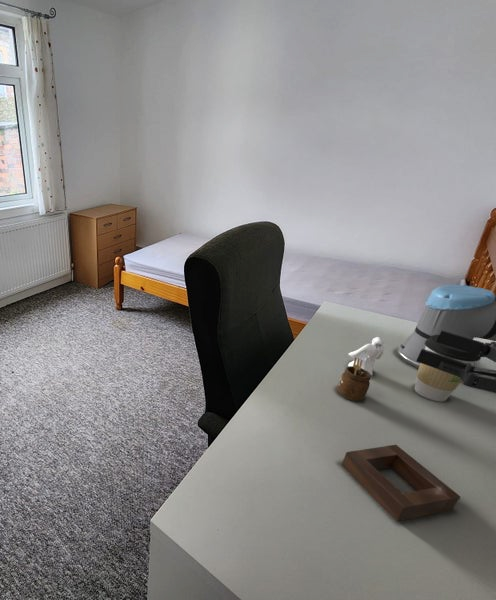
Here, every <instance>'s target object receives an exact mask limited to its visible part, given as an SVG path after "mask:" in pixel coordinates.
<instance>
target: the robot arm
mask: <svg viewBox="0 0 496 600" xmlns="http://www.w3.org/2000/svg"><path fill="white" fill-rule="evenodd" d="M424 303H425V305H424V307H423V311H422V312H421V315H420V316H419V319H418V321H417V324H416V326H415V329H414V331H413V332H412V333H411V334H410V335H409V336H408V337H406V339H405V340H404V341H402V343H400V344H399V346H398V348H397V350H396V355H397V357H398V358H399V359H401V360H402V361H403V362H405V363H407V365H410V366H412V367H414V368H416V369H417V370H419V366H420V363H422V364H425V365H428V366H431V367H433V368H436V369H439V370H441V371H444V372H447V373H450V374H452V375H455V376H458V377H461V379H462V381H463V382H462V385H464V386H465V387H468V388H473V389H477V390H482V391H486V392H490V393H495V394H496V370H495V369H487V368H480V367H476V366H474V364H473V365H471V364H470V363H469V364H468V365H467V364H466V363H463V362H460V361H457V360H454V359H451V358H448V357H445V356H443V355H440V354H437V353H434V352H431V351H428V350H425V347H426V345H425V341H426V340H427V339H429V338H430V337H431V336H433V335H439V337H438V339H437V341H436V342H438V343H441V344H444V345H447V346H450V347H453V348H457V349H460V350H463V351H466V352H469V353H472V354H475V355H478V354H479V355H478V357H481V358H487V359H489V360H490V361H492V362H494V363H496V294H495V292H493V291H491V290H490V289H486V288H482V287H475V286H472V285H462V284H452V285H451V284H449V285H442V286H438V287H436V288H434V289H433V290H432V291H431V293H430V295H429V297H427V299H426V300H425V302H424ZM474 338H477V339H481V340H487V341H488V340H489V341H490V342H482V341H479V340H476V339H474ZM479 352H480V353H479ZM466 366H467V367H466Z"/></svg>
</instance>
